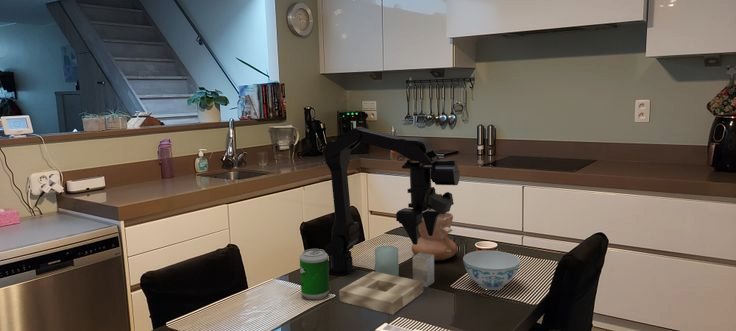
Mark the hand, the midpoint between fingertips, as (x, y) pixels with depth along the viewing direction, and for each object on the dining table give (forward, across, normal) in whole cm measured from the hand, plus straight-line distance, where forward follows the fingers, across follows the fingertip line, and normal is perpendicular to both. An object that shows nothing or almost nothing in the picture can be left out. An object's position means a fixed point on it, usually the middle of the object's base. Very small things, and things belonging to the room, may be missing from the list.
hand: (423, 240), depth 144 cm
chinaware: (+13, +7, -16) cm, 22 cm away
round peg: (+12, 0, +12) cm, 17 cm away
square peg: (+12, 0, 0) cm, 13 cm away
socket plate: (+12, -14, +5) cm, 19 cm away
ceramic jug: (+13, +22, +8) cm, 27 cm away
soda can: (+12, -22, +21) cm, 33 cm away
